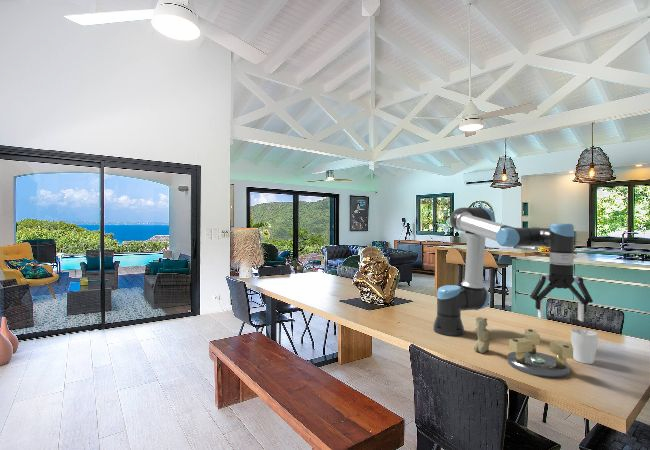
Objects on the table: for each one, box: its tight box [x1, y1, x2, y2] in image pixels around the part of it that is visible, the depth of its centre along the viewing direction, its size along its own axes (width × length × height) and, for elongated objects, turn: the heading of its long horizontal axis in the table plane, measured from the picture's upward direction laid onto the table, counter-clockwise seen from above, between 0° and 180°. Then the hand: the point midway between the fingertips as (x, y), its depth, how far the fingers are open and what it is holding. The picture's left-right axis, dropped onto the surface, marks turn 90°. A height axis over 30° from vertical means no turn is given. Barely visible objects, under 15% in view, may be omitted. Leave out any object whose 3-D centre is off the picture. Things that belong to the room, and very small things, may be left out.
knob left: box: [508, 337, 532, 364], centre depth 135 cm, size 7×4×9 cm, turn 103°
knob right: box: [549, 340, 574, 369], centre depth 131 cm, size 7×4×9 cm, turn 0°
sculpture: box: [473, 316, 491, 354], centre depth 152 cm, size 6×7×15 cm
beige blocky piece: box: [524, 328, 541, 354], centre depth 144 cm, size 7×4×9 cm, turn 163°
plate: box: [507, 351, 570, 379], centre depth 137 cm, size 21×21×3 cm
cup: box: [570, 328, 599, 365], centre depth 142 cm, size 9×9×12 cm
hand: (560, 319), depth 131 cm, fingers open, 13 cm apart
